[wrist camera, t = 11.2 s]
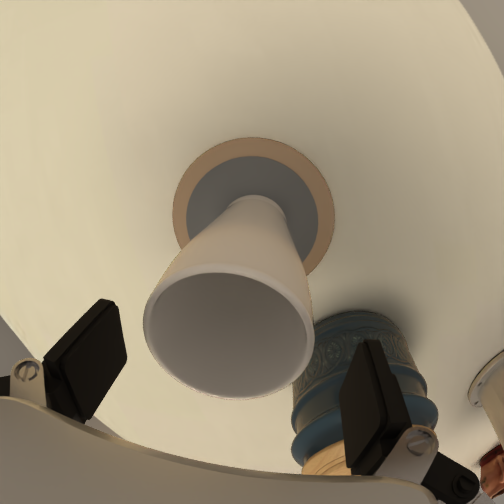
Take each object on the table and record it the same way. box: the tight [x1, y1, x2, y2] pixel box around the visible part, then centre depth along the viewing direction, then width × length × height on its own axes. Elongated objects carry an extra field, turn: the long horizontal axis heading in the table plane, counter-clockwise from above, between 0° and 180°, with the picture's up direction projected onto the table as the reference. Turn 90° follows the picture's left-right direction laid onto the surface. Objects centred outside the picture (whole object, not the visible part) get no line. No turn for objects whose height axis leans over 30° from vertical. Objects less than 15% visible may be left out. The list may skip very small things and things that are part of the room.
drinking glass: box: [143, 195, 315, 400], centre depth 18 cm, size 7×7×15 cm
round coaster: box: [173, 138, 335, 276], centre depth 25 cm, size 14×14×1 cm
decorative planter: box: [480, 445, 504, 499], centre depth 36 cm, size 20×12×14 cm, turn 43°
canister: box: [291, 311, 438, 476], centre depth 22 cm, size 13×13×18 cm
